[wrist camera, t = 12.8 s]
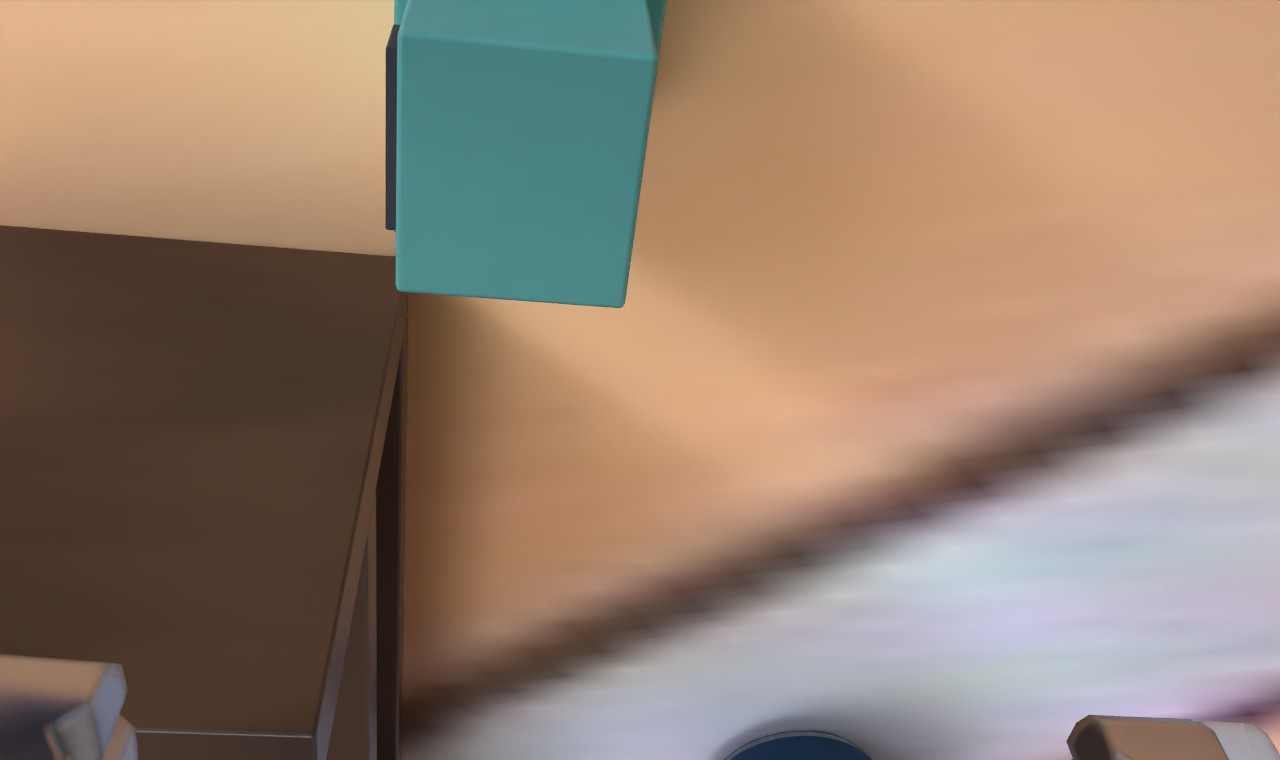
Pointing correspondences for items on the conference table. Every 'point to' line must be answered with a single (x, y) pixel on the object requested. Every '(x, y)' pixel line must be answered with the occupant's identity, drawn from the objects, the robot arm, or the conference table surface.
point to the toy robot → (518, 145)
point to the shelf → (209, 486)
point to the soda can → (799, 748)
